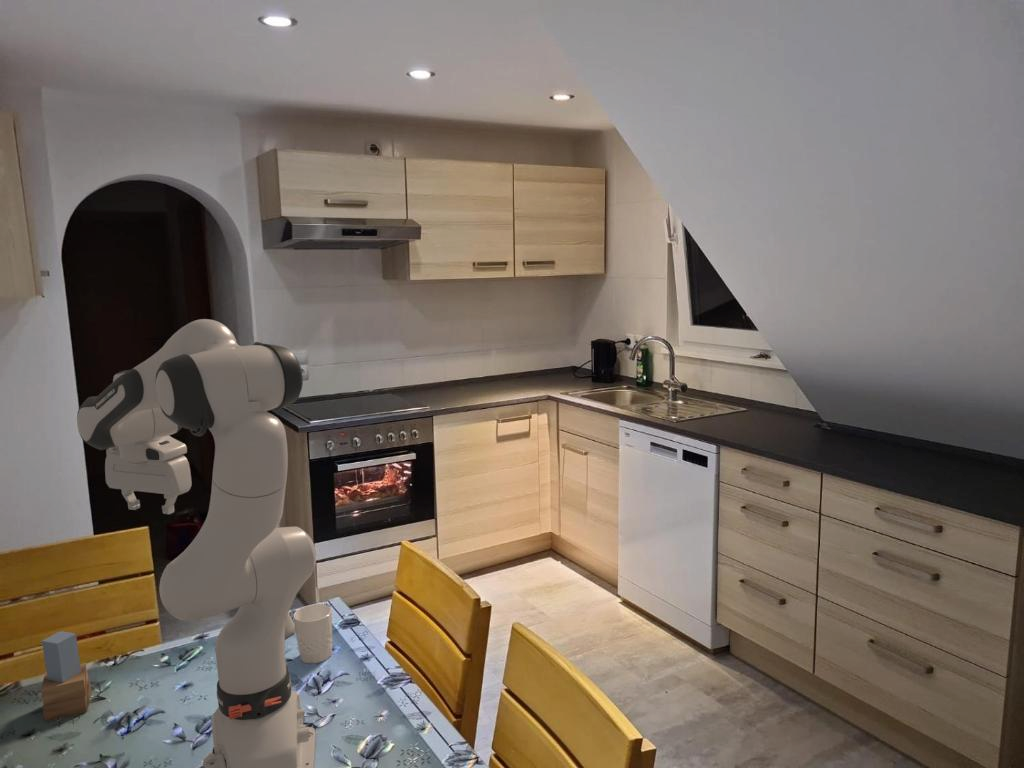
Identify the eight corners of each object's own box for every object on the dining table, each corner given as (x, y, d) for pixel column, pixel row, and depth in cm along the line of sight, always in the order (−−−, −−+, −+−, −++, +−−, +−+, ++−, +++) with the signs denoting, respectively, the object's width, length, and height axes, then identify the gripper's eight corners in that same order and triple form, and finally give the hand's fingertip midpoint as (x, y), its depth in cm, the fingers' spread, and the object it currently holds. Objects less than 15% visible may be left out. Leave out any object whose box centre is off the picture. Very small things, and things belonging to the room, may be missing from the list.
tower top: (86, 696, 145) (83, 679, 144) (43, 706, 142) (41, 689, 141) (88, 678, 151) (85, 662, 150) (47, 688, 148) (45, 672, 147)
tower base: (87, 713, 145) (84, 697, 144) (45, 723, 143) (42, 706, 142) (91, 694, 152) (89, 678, 151) (52, 703, 149) (49, 687, 148)
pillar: (81, 671, 147) (75, 633, 146) (62, 682, 143) (57, 643, 142) (66, 668, 148) (60, 630, 147) (47, 679, 145) (41, 640, 143)
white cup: (289, 658, 162) (285, 615, 160) (318, 642, 168) (314, 600, 166) (314, 669, 157) (310, 625, 155) (342, 652, 164) (339, 609, 162)
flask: (286, 642, 169) (282, 600, 167) (257, 640, 170) (253, 598, 168) (301, 626, 176) (298, 586, 174) (273, 624, 177) (269, 584, 175)
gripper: (92, 447, 155) (101, 511, 157) (168, 453, 147) (176, 520, 150) (118, 439, 160) (126, 501, 163) (193, 445, 153) (200, 510, 155)
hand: (151, 511), depth 156 cm, fingers open, 8 cm apart
